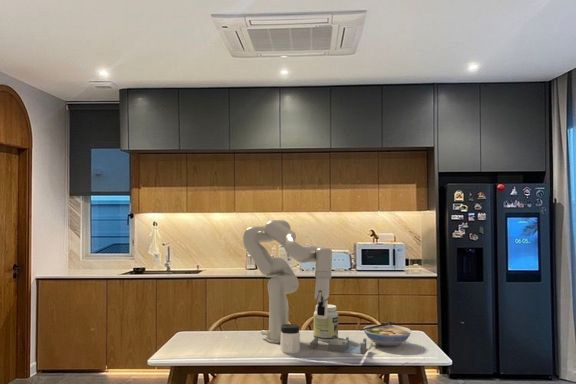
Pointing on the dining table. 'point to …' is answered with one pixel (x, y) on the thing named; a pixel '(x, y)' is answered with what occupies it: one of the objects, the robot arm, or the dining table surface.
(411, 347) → the dining table surface
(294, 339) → the jar
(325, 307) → the plug
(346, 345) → the grey tiered shelf stand
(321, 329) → the supplement tub
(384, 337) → the ramen bowl
